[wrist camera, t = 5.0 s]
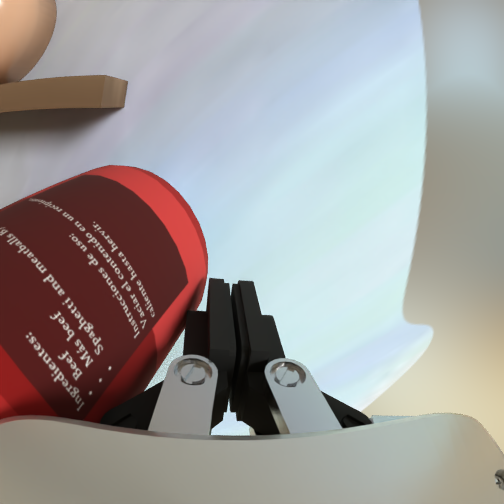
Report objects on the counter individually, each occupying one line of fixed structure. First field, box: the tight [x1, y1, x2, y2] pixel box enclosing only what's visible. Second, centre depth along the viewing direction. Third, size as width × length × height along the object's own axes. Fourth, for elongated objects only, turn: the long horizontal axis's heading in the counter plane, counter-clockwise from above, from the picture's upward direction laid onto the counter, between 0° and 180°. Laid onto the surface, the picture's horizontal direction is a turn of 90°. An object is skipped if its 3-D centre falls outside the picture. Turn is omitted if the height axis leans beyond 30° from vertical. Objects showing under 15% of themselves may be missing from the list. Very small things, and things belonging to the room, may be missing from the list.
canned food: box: [0, 165, 208, 424], centre depth 8 cm, size 8×8×11 cm
